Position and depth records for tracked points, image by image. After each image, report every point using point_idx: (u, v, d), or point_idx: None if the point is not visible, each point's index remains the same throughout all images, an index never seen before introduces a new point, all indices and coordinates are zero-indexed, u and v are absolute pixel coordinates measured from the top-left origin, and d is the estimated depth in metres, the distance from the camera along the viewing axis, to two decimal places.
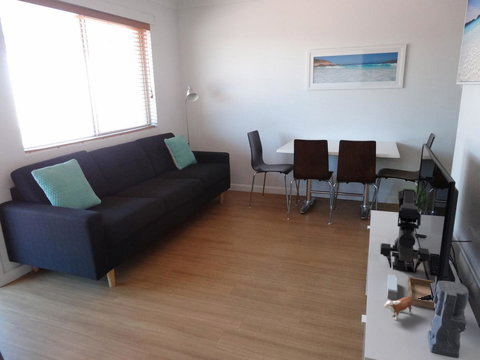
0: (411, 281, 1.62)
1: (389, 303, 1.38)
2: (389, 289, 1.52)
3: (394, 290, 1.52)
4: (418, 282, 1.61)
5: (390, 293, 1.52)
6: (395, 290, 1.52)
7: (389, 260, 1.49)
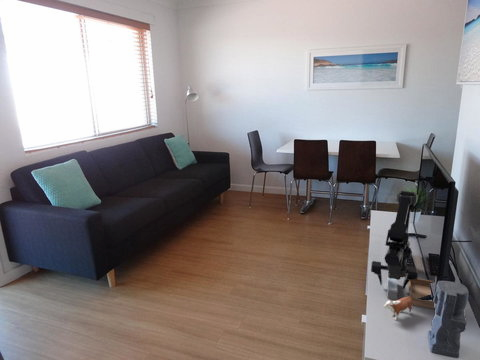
0: (411, 281, 1.62)
1: (389, 303, 1.38)
2: (389, 289, 1.52)
3: (394, 290, 1.52)
4: (418, 282, 1.61)
5: (390, 293, 1.52)
6: (395, 290, 1.52)
7: (379, 277, 1.58)
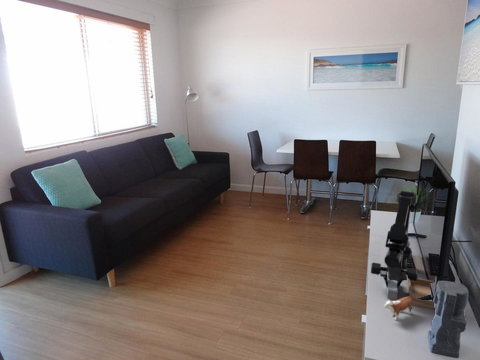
0: (411, 281, 1.62)
1: (389, 303, 1.38)
2: (389, 289, 1.52)
3: (394, 290, 1.52)
4: (418, 282, 1.61)
5: (390, 293, 1.52)
6: (395, 290, 1.52)
7: (385, 280, 1.57)
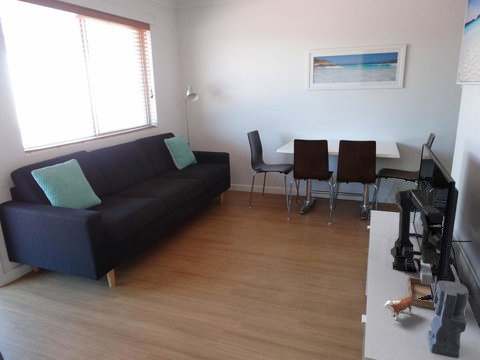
0: (411, 281, 1.62)
1: (389, 303, 1.38)
2: (423, 274, 1.45)
3: (429, 274, 1.44)
4: (418, 282, 1.61)
5: (424, 278, 1.44)
6: (430, 275, 1.44)
7: (419, 264, 1.50)
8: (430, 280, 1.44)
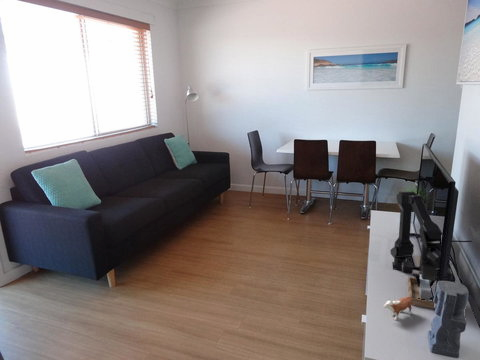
0: (411, 281, 1.62)
1: (389, 303, 1.38)
2: (422, 289, 1.47)
3: (428, 290, 1.46)
4: None
5: (423, 294, 1.47)
6: (429, 290, 1.46)
7: (418, 279, 1.52)
8: (429, 295, 1.46)
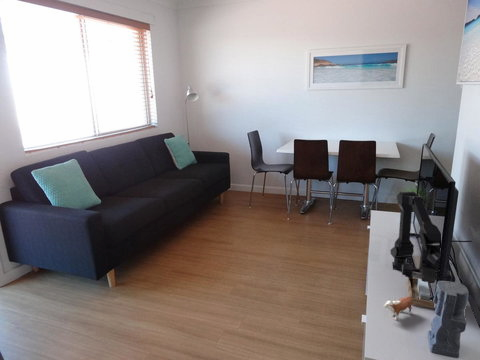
0: None
1: (389, 303, 1.38)
2: (422, 294, 1.48)
3: (427, 295, 1.47)
4: None
5: (423, 298, 1.47)
6: (428, 295, 1.47)
7: (411, 280, 1.53)
8: (428, 300, 1.47)
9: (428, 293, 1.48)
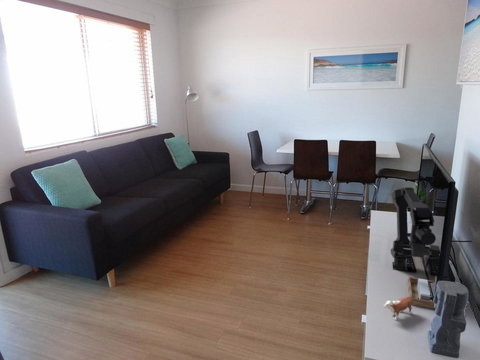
0: (411, 281, 1.62)
1: (389, 303, 1.38)
2: (422, 294, 1.48)
3: (427, 295, 1.47)
4: None
5: (423, 298, 1.47)
6: (428, 295, 1.47)
7: (401, 256, 1.57)
8: (428, 300, 1.47)
9: (428, 293, 1.48)
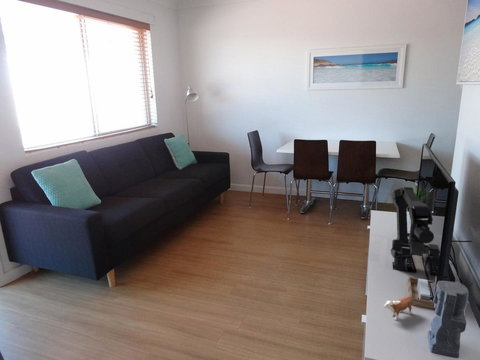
0: (411, 281, 1.62)
1: (389, 303, 1.38)
2: (422, 294, 1.48)
3: (427, 295, 1.47)
4: None
5: (423, 298, 1.47)
6: (428, 295, 1.47)
7: (400, 255, 1.57)
8: (428, 300, 1.47)
9: (428, 293, 1.48)
